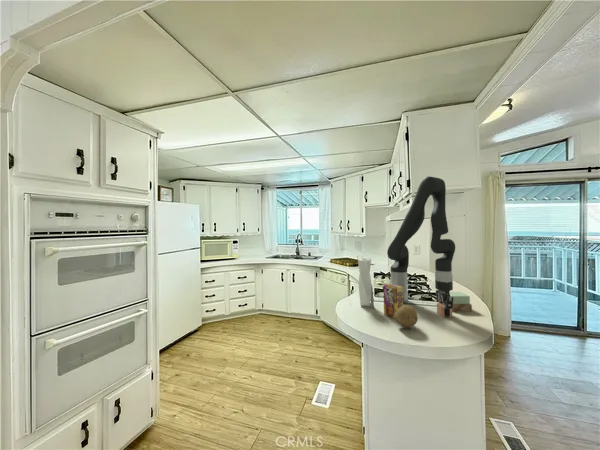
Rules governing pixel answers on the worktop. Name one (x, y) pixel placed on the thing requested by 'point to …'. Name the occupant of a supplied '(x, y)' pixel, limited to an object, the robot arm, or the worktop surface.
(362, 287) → the skyscraper
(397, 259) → the robot arm
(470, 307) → the tower base block
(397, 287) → the candy box
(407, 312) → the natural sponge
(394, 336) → the worktop surface
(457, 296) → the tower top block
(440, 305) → the terracotta block
